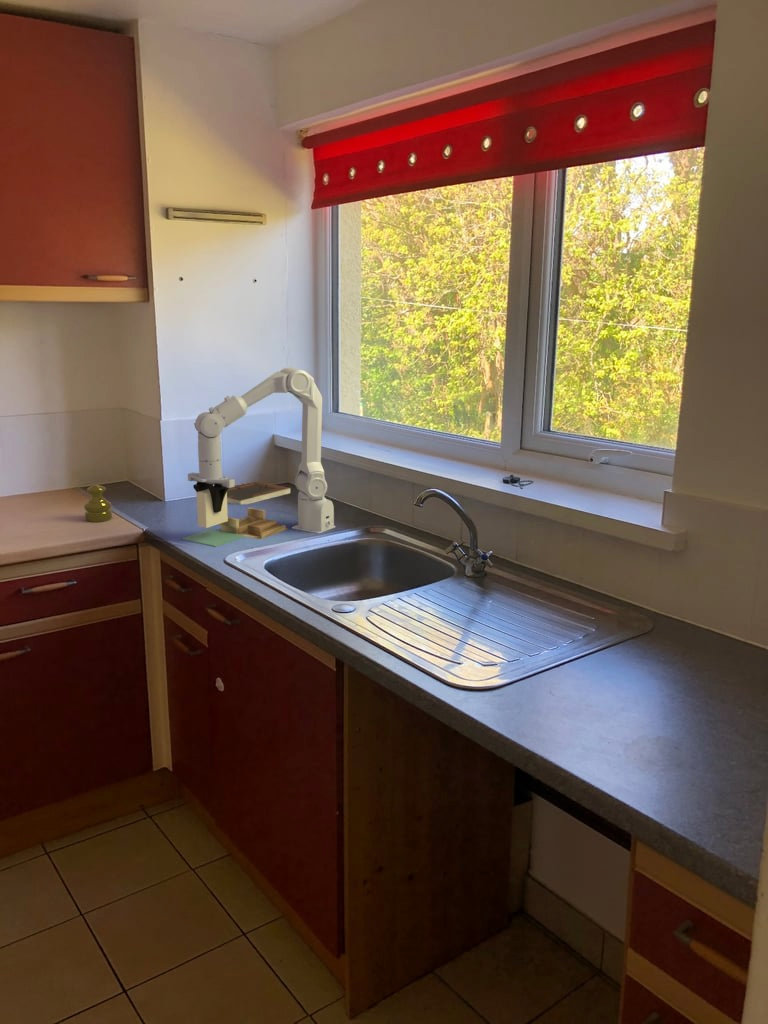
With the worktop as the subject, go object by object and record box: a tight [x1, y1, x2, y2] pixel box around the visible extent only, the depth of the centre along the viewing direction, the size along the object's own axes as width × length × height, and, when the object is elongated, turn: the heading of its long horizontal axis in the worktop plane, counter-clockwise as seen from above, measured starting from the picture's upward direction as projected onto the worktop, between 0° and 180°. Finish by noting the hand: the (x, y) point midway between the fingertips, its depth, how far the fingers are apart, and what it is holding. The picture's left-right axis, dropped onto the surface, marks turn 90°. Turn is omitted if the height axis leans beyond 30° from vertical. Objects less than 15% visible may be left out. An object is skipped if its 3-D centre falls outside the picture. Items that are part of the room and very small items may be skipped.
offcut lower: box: [248, 524, 281, 536], centre depth 226 cm, size 5×8×1 cm, turn 148°
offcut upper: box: [247, 518, 279, 532], centre depth 225 cm, size 4×7×1 cm, turn 148°
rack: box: [219, 507, 288, 540], centre depth 227 cm, size 14×12×4 cm
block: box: [195, 489, 229, 529], centre depth 218 cm, size 3×8×9 cm, turn 148°
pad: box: [181, 528, 246, 548], centre depth 220 cm, size 12×11×1 cm
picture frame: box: [227, 481, 291, 505], centre depth 267 cm, size 16×2×22 cm
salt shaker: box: [83, 483, 113, 523], centre depth 237 cm, size 7×7×10 cm
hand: (212, 510), depth 218 cm, fingers closed on block, 3 cm apart
